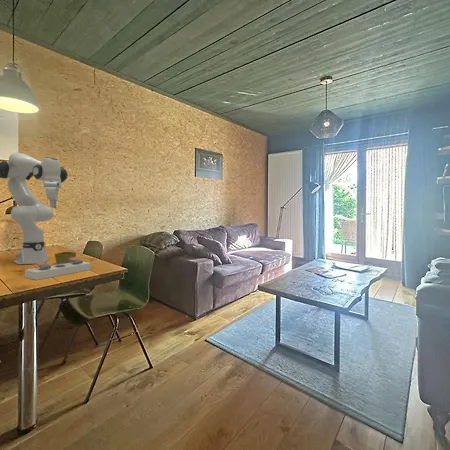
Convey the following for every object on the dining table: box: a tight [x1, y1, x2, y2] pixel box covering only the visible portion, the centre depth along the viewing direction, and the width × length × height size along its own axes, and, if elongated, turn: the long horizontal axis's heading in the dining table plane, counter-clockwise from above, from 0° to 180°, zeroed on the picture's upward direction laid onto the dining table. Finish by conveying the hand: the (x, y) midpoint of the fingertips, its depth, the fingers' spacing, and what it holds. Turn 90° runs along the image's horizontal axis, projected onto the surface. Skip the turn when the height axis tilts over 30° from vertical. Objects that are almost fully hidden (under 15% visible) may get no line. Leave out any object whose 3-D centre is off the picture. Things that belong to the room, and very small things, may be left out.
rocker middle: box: [52, 260, 68, 266], centre depth 151 cm, size 8×4×1 cm, turn 60°
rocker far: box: [69, 257, 84, 264], centre depth 159 cm, size 8×4×1 cm, turn 60°
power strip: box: [24, 261, 92, 281], centre depth 153 cm, size 12×34×4 cm, turn 150°
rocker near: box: [34, 262, 52, 269], centre depth 143 cm, size 8×4×1 cm, turn 60°
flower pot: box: [54, 251, 77, 265], centre depth 170 cm, size 9×9×9 cm
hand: (53, 208), depth 157 cm, fingers open, 8 cm apart
